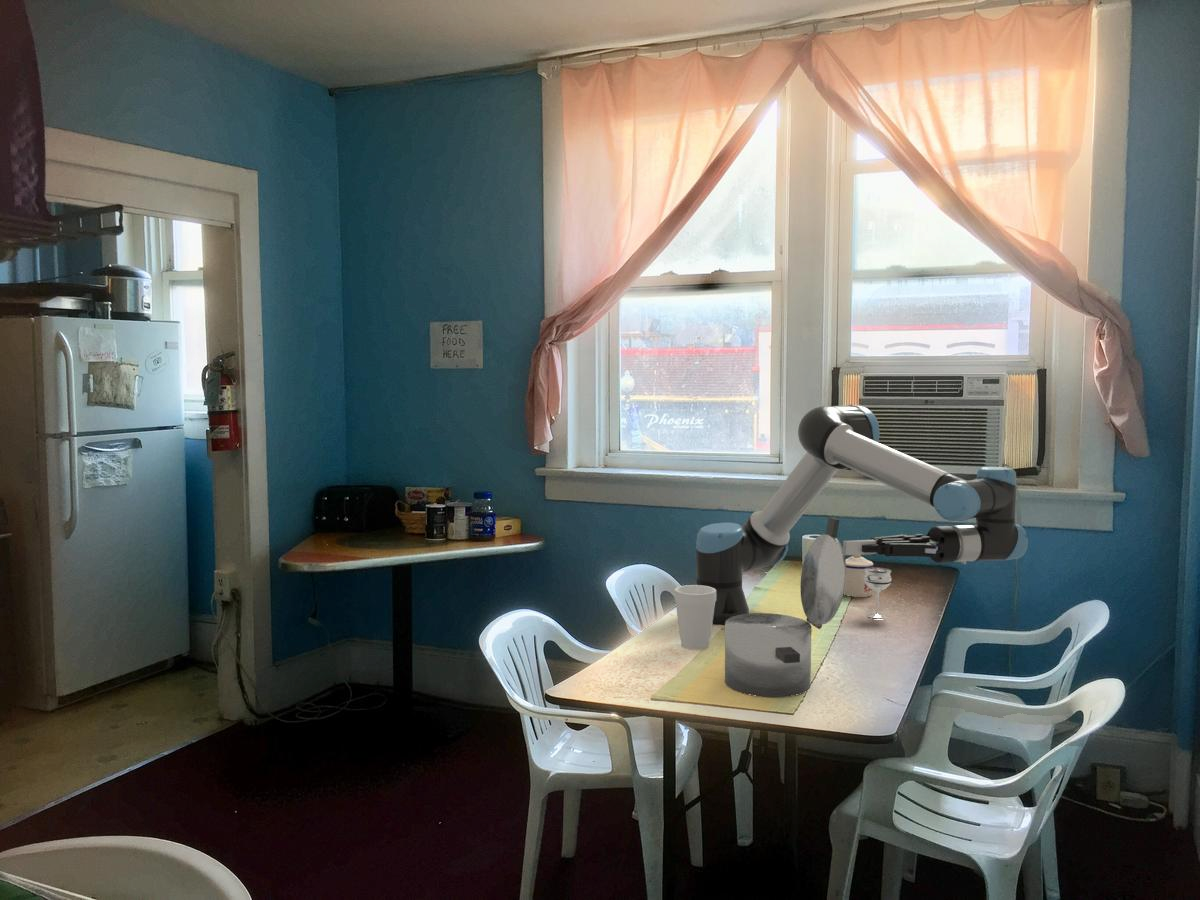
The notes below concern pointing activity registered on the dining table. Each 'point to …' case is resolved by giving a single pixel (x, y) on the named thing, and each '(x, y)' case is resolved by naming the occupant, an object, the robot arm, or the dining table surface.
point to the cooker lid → (823, 577)
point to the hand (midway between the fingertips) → (844, 547)
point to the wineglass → (877, 583)
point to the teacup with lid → (857, 576)
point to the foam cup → (695, 615)
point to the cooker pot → (767, 654)
